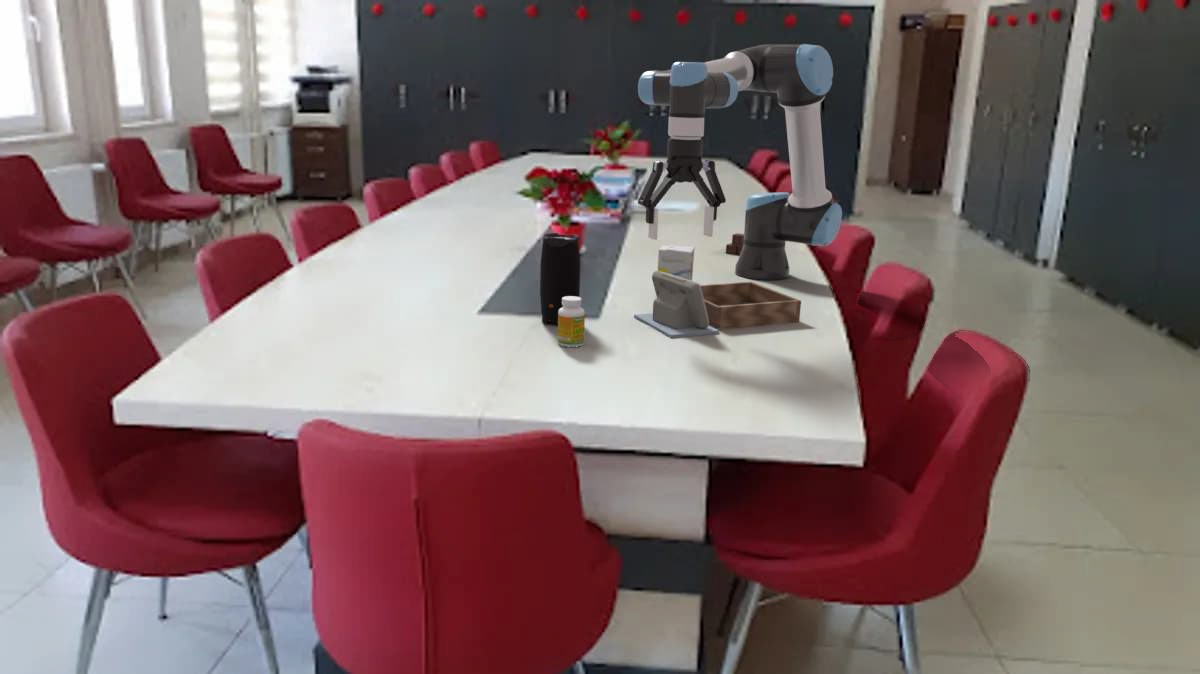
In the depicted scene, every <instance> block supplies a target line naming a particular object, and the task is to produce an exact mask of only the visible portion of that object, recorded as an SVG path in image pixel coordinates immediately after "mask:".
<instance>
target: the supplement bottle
mask: <svg viewBox="0 0 1200 674" xmlns="http://www.w3.org/2000/svg"><path fill="white" fill-rule="evenodd" d="M582 299H583V298H581V296H579V297H576V296H566V297H563V298H562V305H563V307H562V308H560V309H559V311H558V323H557V344H558V345H559V346H560V345H562V346H561V347H563V346H569V347H568V348H577V347H576V346H580V347H581V345H582V346H583V345H584V343H585V321H586V319H585V316H586V314H585V313H586V311H585V309H584V308H582V307H581V306H582Z"/></svg>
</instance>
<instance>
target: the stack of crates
mask: <svg viewBox="0 0 1200 674" xmlns="http://www.w3.org/2000/svg"><path fill="white" fill-rule="evenodd" d="M731 239H732V240H731V243H728V244H726V247H725V254H727V255H735V256H740V254H741V251H742V249H743V244H744V233H737V232H736V233H734V234H732V236H731Z"/></svg>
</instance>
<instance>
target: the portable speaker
mask: <svg viewBox="0 0 1200 674" xmlns="http://www.w3.org/2000/svg"><path fill="white" fill-rule="evenodd" d="M579 242H580V237H579V235H578V234H576V233H571V234H563V233H562V234H561V233H560V234H559V233H558V232H548V233H545V234H544V235H543V237H542V245H541V254H540V263H539V264H540V273H539V274H540V276H539V277H540V279H539V281H540V282H539V297H540V308H541V309H540V311H541V322H542V323H543V324H544V323H547V324H548V322H551V323H556V324H558V311H559V309H560V308H562V307H563V305H562V298H563V297H566V296H576V297H581V295H580V293H581V292H580V291H581V288H580V287H581V284H580V283H581V256H580V245H579V244H580V243H579Z"/></svg>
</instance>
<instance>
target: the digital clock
mask: <svg viewBox="0 0 1200 674" xmlns="http://www.w3.org/2000/svg"><path fill="white" fill-rule="evenodd" d="M651 280H652V284H653V286H654V292H655V295H656V298H655V299H654V300H653V305H652V313H653V320H655V321H657V322H660V323H663V324H665V325H668V326H670V327H673V328H676V329H681V328H688V327H695V326H696V327H699V328H707V327H708V325H709V318H708V314H707V310H706V306H705V301H704V297H703V293H702V289H701V286H700V285H701V284H700V283H699V282H696V281H693V280H692V281H691V280H687V279H684V278H681V277H678V276H675V275H671V274H668V273H665V272H661V271H658V270H655V271H654V272H652V274H651Z"/></svg>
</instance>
